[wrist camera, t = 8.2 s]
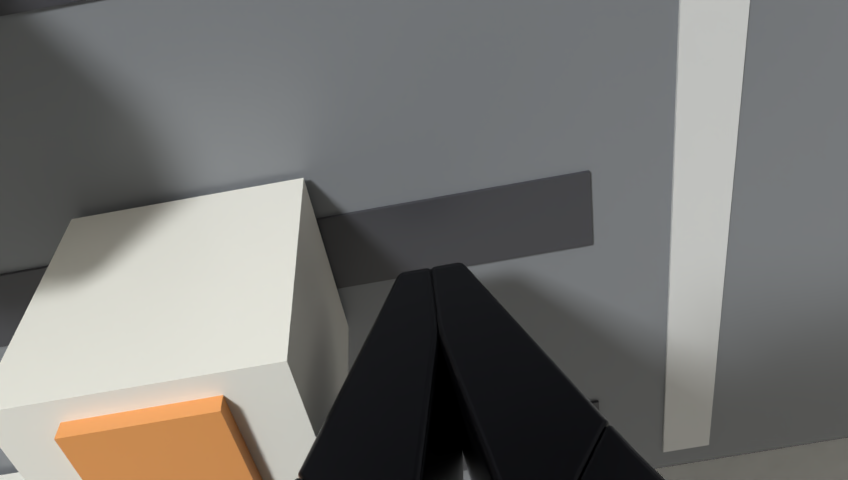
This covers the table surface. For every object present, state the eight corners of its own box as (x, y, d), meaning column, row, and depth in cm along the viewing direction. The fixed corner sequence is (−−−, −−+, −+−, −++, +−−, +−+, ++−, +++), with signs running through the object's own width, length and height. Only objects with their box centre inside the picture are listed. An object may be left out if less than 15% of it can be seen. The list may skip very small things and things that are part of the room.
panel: (1146, -462, 8) (1264, -478, 7) (898, 373, 15) (937, 425, 14) (-919, -47, 8) (-1089, -8, 7) (-209, 556, 16) (-248, 617, 15)
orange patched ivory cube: (303, 177, 10) (285, 375, 7) (348, 326, 11) (346, 537, 9) (71, 218, 10) (-35, 430, 7) (147, 361, 11) (83, 579, 9)
